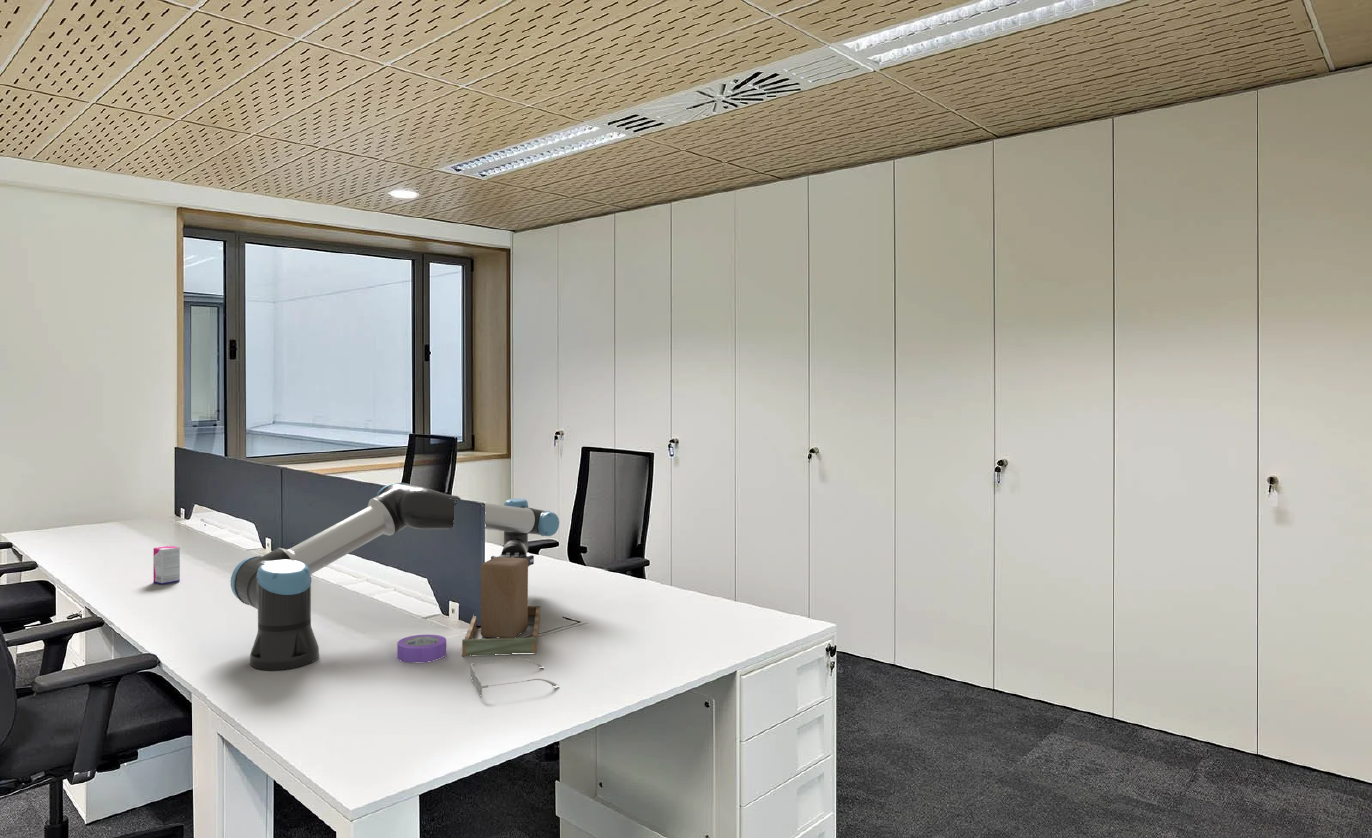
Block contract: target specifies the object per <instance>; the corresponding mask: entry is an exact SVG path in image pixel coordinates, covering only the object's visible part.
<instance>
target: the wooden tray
mask: <svg viewBox="0 0 1372 838" xmlns="http://www.w3.org/2000/svg"><path fill="white" fill-rule="evenodd" d="M540 618H541V605H528V625H534V626H533V632H532V637H516V638H474V635H475V633H474V632H476V631H475V630H477V628H478V627H477V617H476V616H474V614H473V616H472V618H471V620H470V622H469V623H470V624H469V626H468V629H467V631H466V634H465V636H464V638H463V639H462V641H461V643H462V644H461V647H462V648H461V653H462V654H461V656H462V657H473V656H472V655H495V654H512V653H536V654H537V648H536V647H537V646H538V639H537V638H538V637H539V630H538V629H539V628H540V627H539V626H540V621H541V620H540ZM539 620H540V621H539ZM476 627H477V628H476ZM472 638H473V639H472ZM470 655H471V656H470Z"/></svg>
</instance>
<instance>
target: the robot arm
mask: <svg viewBox="0 0 1372 838" xmlns="http://www.w3.org/2000/svg"><path fill="white" fill-rule="evenodd" d="M449 498H452V499H458V500H463V499H462V498H461V497H460V496H458V495H454V494H453V495H452V494H448V493H445V492H440V491H436V490H434V489H431V488H428V487H425V486H419V485H413V484H410V483H406V482H392V483H389V484H387V485H385V486H382V488H380V490H379V491H378V492H377V493H376V496H374V497H372V498H370V500H368V504H367V507H365V508H364V509H363V508H362V510H359V511H358V512H355V513H354V514H352V515H350V516H349V517H346V518H345V519H343V520H341V521H339V522H337V523H335V524H333V525H331V526H329V527H328V528H326V529H324V530H322V531H320V532H318V533H317V534H315V535H312V536H311V537H309V538H307V539H305V540H304V541H301V542H299V543H298V544H295V545H294V546H292V547H291V548H288V549H286V548H282V547H277V548H276V549H274V550H272V551H270V552H268V553H267V554H264V555H262V556H261V555H256V556H250V557H247V558H245V559H243V560H242V561H241V562H239V563H238V564H237V565H236V566H235V568H234V569H233V571H232V574H231V577H230V589H231V591H232V593H233V595H234V596H235V597H236V598H237V599H238V600H239V601H240V602H241V603H242V604H245V605H246V606H251V607H253V608H254V609H257V634H256V637H255V639H254V642H253V645H252V648H251V651H250V654H249V663H250V664H249V665H250V666H251V667H252V668H254V669H257V670H261V671H262V670H264V671H279V670H280V671H281V670H291V669H294V668H295V669H296V668H299V667H303V666H307V665H309V664H311V663H313V662H315V661H317V660H318V659H319V657H320V648H319V643H318V641H317V639H316V637H315V633H314V630H313V628H312V617H311V616H312V577H311V575H312V574H314V573H316V572H319V571H320V570H322V569H323V568H325V567H327V566H328V565H330V564H332V563H334V562H335V561H337V560H339V559H341V558H343V557H345V556H346V555H348V554H350V553H351V552H353V551H355V550H357V549H358V548H360V547H362V546H365V545H366V544H367V543H369V542H372V541H373V540H374V539H376V538H378V537H380V536H382V535H385V536H388V537H389V536H393V535H394V534H396V533H398V532H400V531H402V530H403V529H405V528H411V529H415V530H449V529H451V528H452V527H453V524H454V523H453V520H454V506H455V505H456V504H457V503H454V501H455V500H452V499H449ZM456 502H457V500H456ZM477 502H478V501H477ZM478 503H481V502H478ZM483 503H484V504H485V512H486V514H485V524H486V527H485V529H484V530H489V531H490V530H491V531H499V532H503V548H502V551H501V553H500V555H499V556H498V557H511V558H525V559H527V560H528V568H529V567H530V566H531V565H534V564H535V563H534V562H535V557H534V555H529V556H528V551H529V540H528V537H529V535H528V534H530V535H538V536H541V537H552V536H554V535H555V534H556V533H557V532H558V530H559V528H560V518H559V516H558V515H557V514H556V513H555V512H551V511H549V510H543V509H537V508H531V507H529V504H528V503H529V501H528V500H527V499H526V498H510V499H507V500H505V501H504V503H503V504H504V505H503V504H496V503H487V502H483ZM495 557H496V556H495V555H492V556H490V560H491V559H493V558H495Z"/></svg>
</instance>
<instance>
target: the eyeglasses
mask: <svg viewBox="0 0 1372 838" xmlns="http://www.w3.org/2000/svg"><path fill="white" fill-rule="evenodd" d="M516 660H520V661H521V660H523V661H526V662H527V661H528V662H530V663H532V664H535V665H536V666H537V667H538V668H539V667H542V666H543V665H542V664H541V663H538V662H536V661H535V660H532V659H527V658H512V659H509V661H516ZM504 661H505V662H506V661H507V659H503V660H501V662H504ZM496 662H499V660H497V661H495V660H494V661H493V663H496ZM489 663H491V661H487V662H486V664H489ZM482 664H484V662H481V663H479V665H482ZM477 665H478V663H476V662H475V663H473V662H472V663H470V664H469V668H470V669H469V670H470V673H469V674H470V678H471V677H472V679H471V681H472V680H473V681H474V683H475V685H476V690H477V689H478V691H477V693H478V692H479V693H480V695H481V696H482V693H483V689H488V688H489V687H494V686H497V684H492V685H489V684H485V685H484V684H482V681H481V679H480V678H479V676H478V674H476V671H475V668H474V667H475V666H477ZM473 681H472V682H473ZM530 681H531V682H532V681H542V682H543V681H544V682H545V683H548V684H550V685H551V687H553V686H556V685H558V684H557V683H556V682H553V681H551V680H546V679H544V678H543V679H542V678H532V679H527V680H526V682H530ZM524 682H525V680H522V681H520V683H524ZM474 683H473V684H474ZM517 683H519V681H517V682H515V681H514V682H513V684H517ZM511 684H512V682H508V683H506V685H511ZM501 685H504V686H505V683H502V684H501V683H499V684H498V686H501ZM479 693H478V694H479ZM480 695H479V696H480Z"/></svg>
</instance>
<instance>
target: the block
mask: <svg viewBox="0 0 1372 838" xmlns="http://www.w3.org/2000/svg"><path fill="white" fill-rule="evenodd" d="M528 593H529V567H528V560H527V559H525V558H511V557H499V556H495V558H493V559H491V558H490V559H489V560H488V561H485V562H483V563H482V564H481V566H480V607H481V627H480V636H481V637H483V638H490V637H499V638H515V637H516V638H518V637H519V636H520V635H521V634H520V633H522V632H523V633H524V632H526V631H527V630H528V627H529V626H528V606H529V605H528V604H529V597H528V596H529V595H528ZM526 629H527V630H526ZM525 630H526V631H525ZM523 633H522V634H523ZM519 634H520V635H519ZM518 635H519V636H518ZM517 636H518V637H517Z"/></svg>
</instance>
